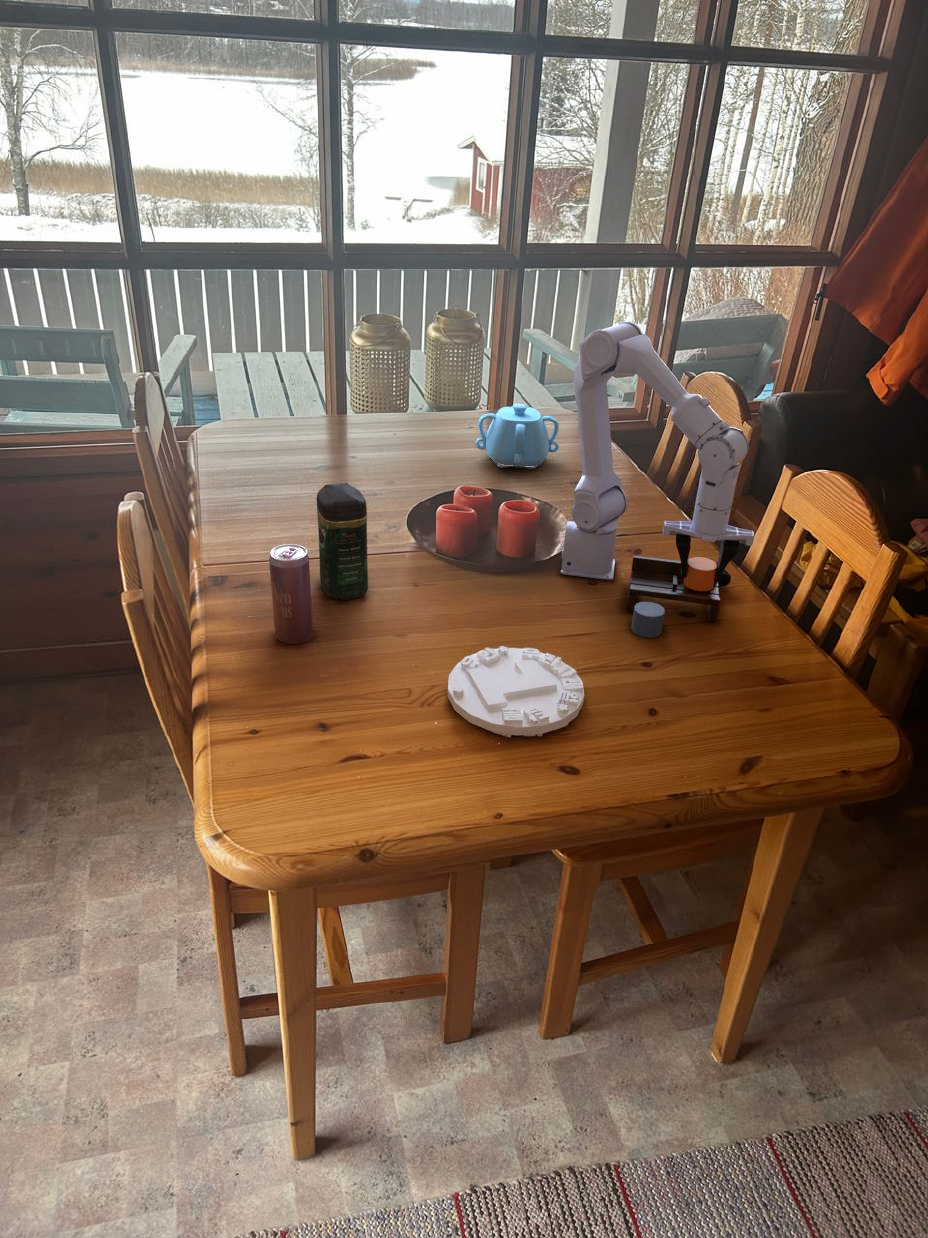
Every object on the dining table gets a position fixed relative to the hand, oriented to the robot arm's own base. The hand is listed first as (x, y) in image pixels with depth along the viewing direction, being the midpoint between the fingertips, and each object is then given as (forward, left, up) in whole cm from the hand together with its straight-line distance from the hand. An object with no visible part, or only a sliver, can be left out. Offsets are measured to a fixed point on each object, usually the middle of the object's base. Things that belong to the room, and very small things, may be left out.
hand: (699, 577), depth 156 cm
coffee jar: (-60, -9, -6) cm, 61 cm away
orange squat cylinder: (0, 0, -1) cm, 1 cm away
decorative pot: (-40, +60, -6) cm, 73 cm away
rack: (-4, 0, -6) cm, 7 cm away
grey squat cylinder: (-8, -9, -6) cm, 14 cm away
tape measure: (+2, +10, -6) cm, 12 cm away
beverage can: (-63, -26, -6) cm, 69 cm away
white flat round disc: (-26, -34, -6) cm, 44 cm away
